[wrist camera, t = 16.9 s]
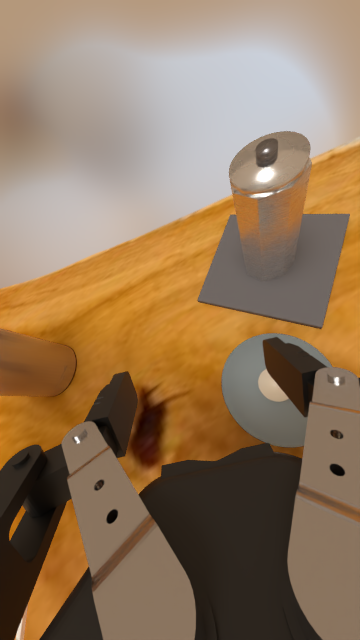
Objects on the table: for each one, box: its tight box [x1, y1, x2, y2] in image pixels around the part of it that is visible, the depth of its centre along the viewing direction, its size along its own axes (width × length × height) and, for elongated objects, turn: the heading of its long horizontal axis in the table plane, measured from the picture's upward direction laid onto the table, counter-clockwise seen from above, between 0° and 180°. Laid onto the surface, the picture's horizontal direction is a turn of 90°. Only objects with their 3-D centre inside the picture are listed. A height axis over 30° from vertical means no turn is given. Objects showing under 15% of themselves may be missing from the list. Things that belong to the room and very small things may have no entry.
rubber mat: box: [198, 214, 350, 329], centre depth 29 cm, size 16×16×1 cm
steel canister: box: [229, 131, 312, 282], centre depth 22 cm, size 6×6×15 cm
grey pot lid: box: [222, 333, 332, 447], centre depth 22 cm, size 12×12×3 cm
